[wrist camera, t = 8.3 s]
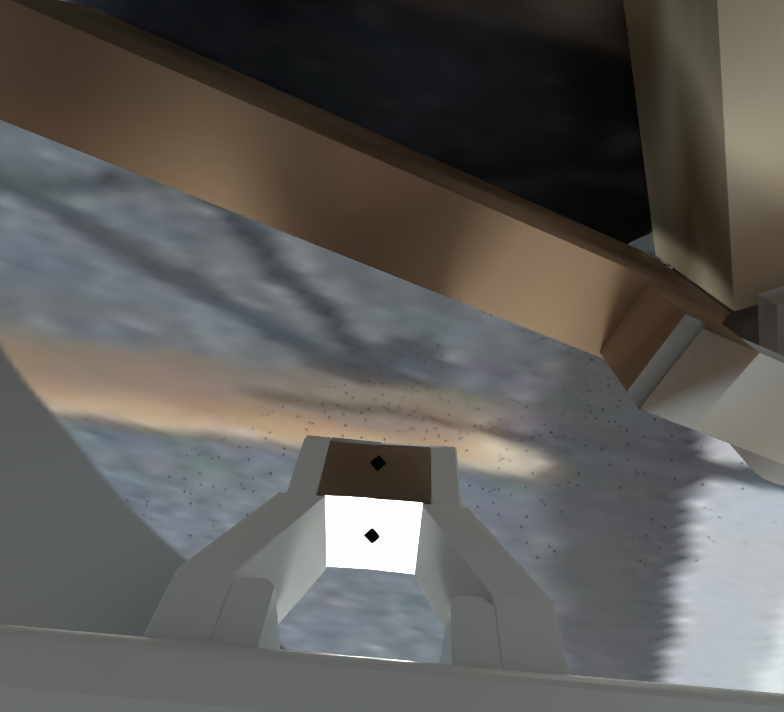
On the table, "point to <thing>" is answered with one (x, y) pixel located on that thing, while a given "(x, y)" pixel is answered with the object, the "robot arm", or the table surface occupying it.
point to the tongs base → (717, 156)
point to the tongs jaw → (384, 210)
